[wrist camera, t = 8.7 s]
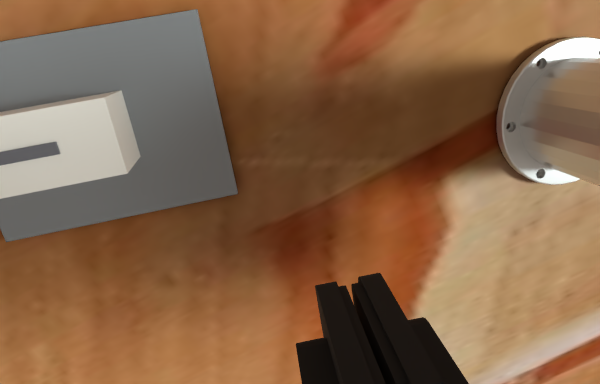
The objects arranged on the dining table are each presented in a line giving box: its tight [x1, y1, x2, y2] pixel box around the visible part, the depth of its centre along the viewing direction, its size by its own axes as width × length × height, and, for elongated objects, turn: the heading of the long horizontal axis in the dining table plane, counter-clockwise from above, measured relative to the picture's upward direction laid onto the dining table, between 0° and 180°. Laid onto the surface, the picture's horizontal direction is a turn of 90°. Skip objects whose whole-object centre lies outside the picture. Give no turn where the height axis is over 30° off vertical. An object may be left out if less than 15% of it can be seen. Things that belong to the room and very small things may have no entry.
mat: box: [0, 9, 238, 242], centre depth 34 cm, size 18×14×1 cm
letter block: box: [0, 90, 141, 199], centre depth 31 cm, size 5×5×12 cm
